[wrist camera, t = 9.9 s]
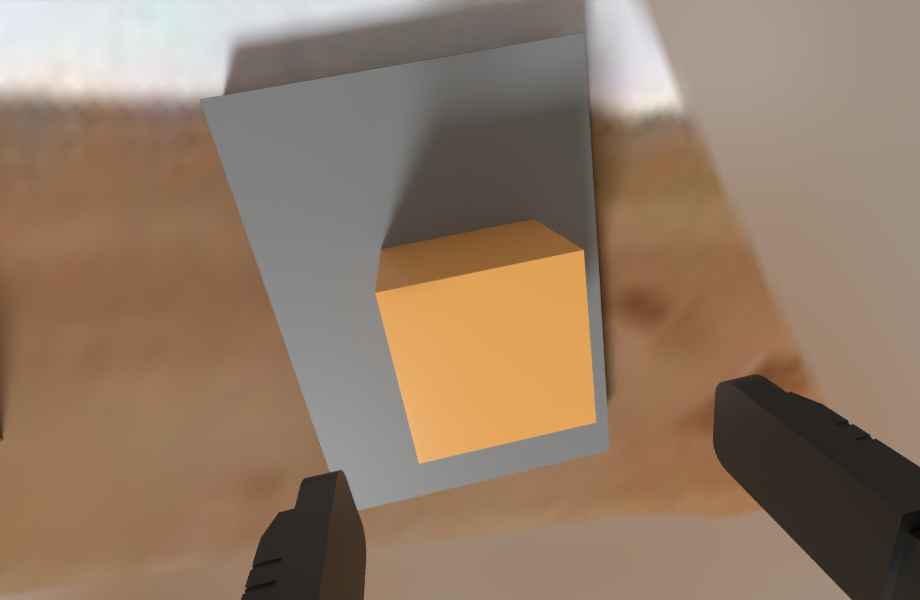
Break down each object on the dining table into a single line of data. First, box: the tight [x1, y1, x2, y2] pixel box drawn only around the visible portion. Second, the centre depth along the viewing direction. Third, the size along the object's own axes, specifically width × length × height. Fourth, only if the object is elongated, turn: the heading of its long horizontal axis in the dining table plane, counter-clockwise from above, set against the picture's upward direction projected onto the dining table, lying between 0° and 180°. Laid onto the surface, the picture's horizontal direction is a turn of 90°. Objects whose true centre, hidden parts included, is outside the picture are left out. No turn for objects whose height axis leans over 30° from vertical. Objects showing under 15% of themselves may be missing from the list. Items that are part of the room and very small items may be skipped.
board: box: [200, 33, 610, 510], centre depth 18 cm, size 18×13×6 cm
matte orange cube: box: [375, 219, 596, 464], centre depth 16 cm, size 6×6×5 cm
